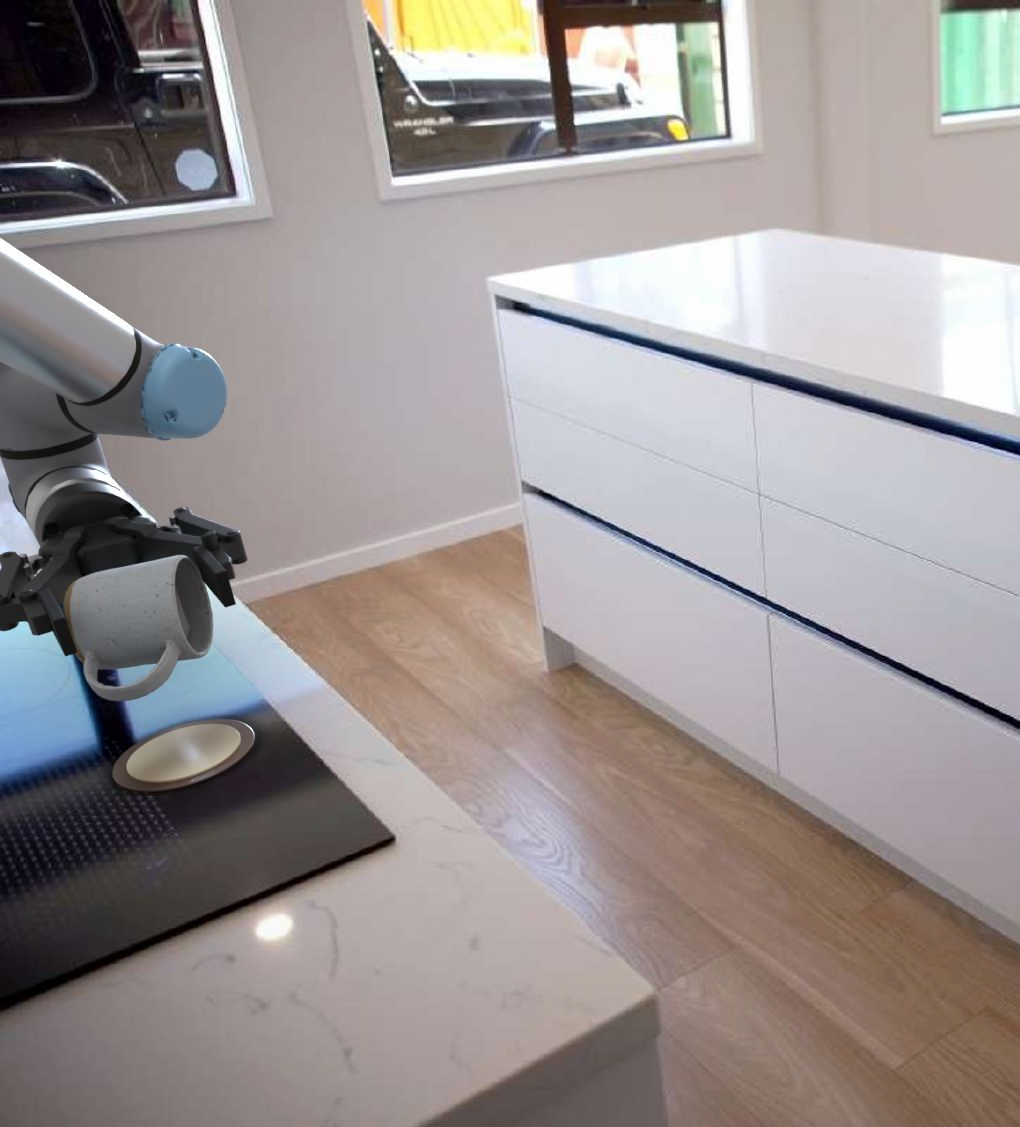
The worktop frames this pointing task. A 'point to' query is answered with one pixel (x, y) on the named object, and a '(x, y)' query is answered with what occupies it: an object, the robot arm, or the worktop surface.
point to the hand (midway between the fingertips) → (148, 612)
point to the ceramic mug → (139, 621)
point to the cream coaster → (183, 755)
